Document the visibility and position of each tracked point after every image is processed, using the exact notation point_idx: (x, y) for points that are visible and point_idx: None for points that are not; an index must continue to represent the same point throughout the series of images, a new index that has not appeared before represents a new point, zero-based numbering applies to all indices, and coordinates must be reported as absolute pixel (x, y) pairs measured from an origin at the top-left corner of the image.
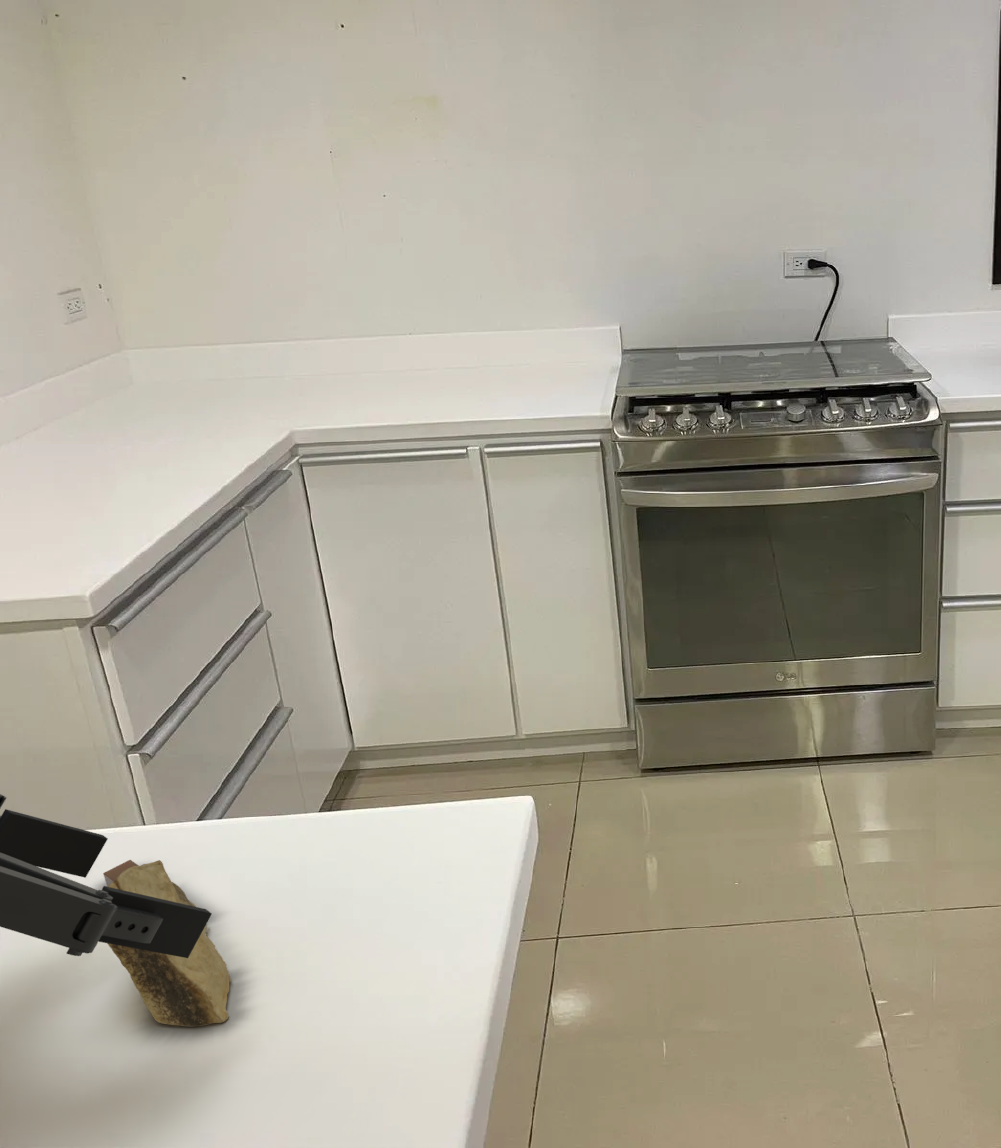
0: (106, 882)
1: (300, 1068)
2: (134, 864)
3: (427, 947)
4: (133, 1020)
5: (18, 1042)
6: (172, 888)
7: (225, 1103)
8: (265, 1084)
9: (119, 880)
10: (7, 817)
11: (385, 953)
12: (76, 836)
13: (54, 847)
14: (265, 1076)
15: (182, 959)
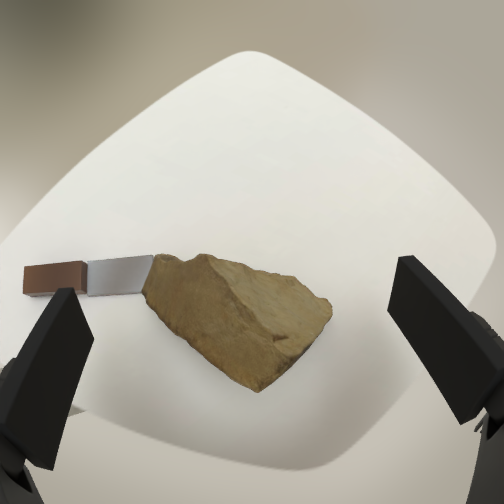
0: (29, 295)
1: None
2: (33, 267)
3: (357, 152)
4: None
5: (196, 447)
6: (247, 267)
7: None
8: None
9: (275, 331)
10: (9, 429)
11: (342, 173)
12: (59, 326)
13: (60, 364)
14: None
15: (318, 308)
